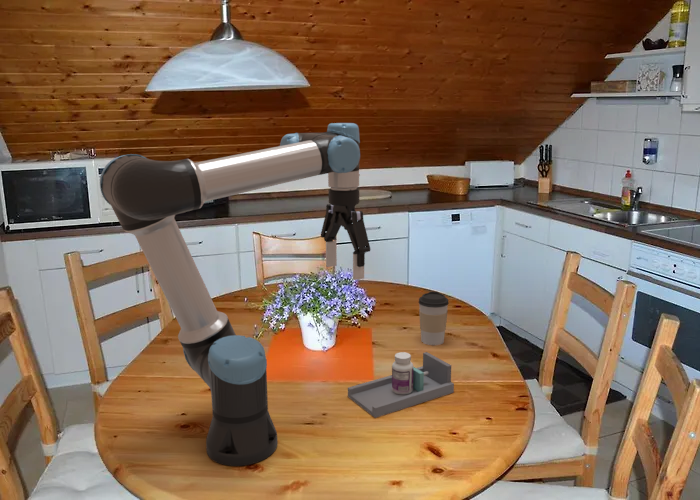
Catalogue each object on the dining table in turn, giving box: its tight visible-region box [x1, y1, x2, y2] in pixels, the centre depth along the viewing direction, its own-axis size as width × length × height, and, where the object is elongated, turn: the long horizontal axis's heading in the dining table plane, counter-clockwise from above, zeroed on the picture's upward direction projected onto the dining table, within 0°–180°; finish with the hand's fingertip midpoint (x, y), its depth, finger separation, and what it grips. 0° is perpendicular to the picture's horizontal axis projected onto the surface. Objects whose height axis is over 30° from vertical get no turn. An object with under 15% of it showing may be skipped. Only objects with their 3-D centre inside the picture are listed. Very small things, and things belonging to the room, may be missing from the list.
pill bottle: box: [391, 351, 414, 395], centre depth 154 cm, size 5×5×10 cm
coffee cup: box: [418, 290, 449, 346], centre depth 187 cm, size 9×9×15 cm
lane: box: [347, 351, 455, 419], centre depth 154 cm, size 24×12×7 cm, turn 121°
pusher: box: [413, 366, 429, 392], centre depth 157 cm, size 5×7×5 cm
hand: (344, 272), depth 154 cm, fingers open, 13 cm apart
